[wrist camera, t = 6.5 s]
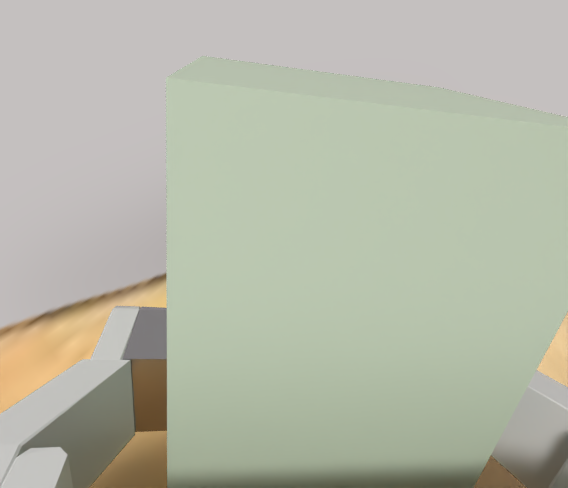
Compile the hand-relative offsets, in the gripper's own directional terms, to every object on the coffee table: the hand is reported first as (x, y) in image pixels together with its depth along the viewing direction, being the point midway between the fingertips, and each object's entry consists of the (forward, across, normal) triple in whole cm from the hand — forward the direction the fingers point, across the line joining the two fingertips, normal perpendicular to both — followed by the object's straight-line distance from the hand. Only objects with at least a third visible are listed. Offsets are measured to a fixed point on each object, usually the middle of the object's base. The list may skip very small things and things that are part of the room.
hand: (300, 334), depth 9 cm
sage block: (-1, 0, +8) cm, 8 cm away
